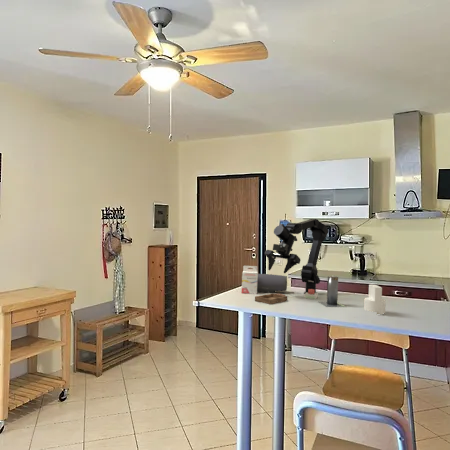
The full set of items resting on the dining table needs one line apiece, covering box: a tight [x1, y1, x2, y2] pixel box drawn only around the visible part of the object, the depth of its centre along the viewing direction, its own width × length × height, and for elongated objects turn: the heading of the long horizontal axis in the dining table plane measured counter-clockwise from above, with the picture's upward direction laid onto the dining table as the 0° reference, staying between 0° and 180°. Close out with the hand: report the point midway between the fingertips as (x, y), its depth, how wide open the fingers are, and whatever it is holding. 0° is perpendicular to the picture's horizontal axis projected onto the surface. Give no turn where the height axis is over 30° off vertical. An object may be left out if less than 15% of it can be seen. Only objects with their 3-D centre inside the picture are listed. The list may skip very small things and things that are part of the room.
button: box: [308, 289, 314, 294], centre depth 209 cm, size 3×3×2 cm
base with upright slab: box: [363, 284, 386, 315], centre depth 183 cm, size 9×9×12 cm
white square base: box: [303, 292, 319, 300], centre depth 209 cm, size 6×6×3 cm
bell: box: [326, 275, 339, 305], centre depth 192 cm, size 5×5×14 cm
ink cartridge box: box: [241, 265, 259, 295], centre depth 223 cm, size 9×5×15 cm, turn 84°
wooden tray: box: [254, 293, 288, 305], centre depth 202 cm, size 14×10×2 cm
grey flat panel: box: [318, 301, 347, 308], centre depth 192 cm, size 12×10×1 cm
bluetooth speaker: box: [257, 273, 288, 294], centre depth 229 cm, size 23×9×10 cm, turn 77°
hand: (276, 271), depth 205 cm, fingers open, 9 cm apart
